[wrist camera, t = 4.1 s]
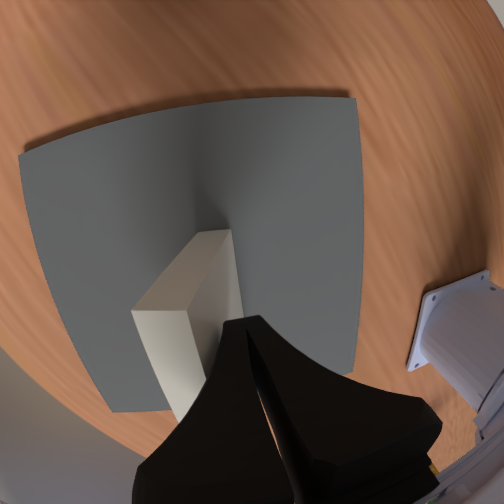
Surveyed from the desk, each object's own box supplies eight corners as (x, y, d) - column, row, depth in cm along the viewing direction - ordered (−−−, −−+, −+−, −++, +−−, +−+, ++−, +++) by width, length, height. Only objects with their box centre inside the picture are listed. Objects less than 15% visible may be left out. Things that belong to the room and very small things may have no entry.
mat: (350, 99, 13) (355, 98, 12) (349, 367, 19) (352, 371, 19) (23, 155, 11) (18, 155, 10) (113, 406, 17) (112, 412, 16)
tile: (231, 229, 13) (186, 310, 7) (246, 334, 15) (227, 441, 9) (195, 232, 13) (126, 310, 7) (215, 335, 15) (183, 437, 9)
